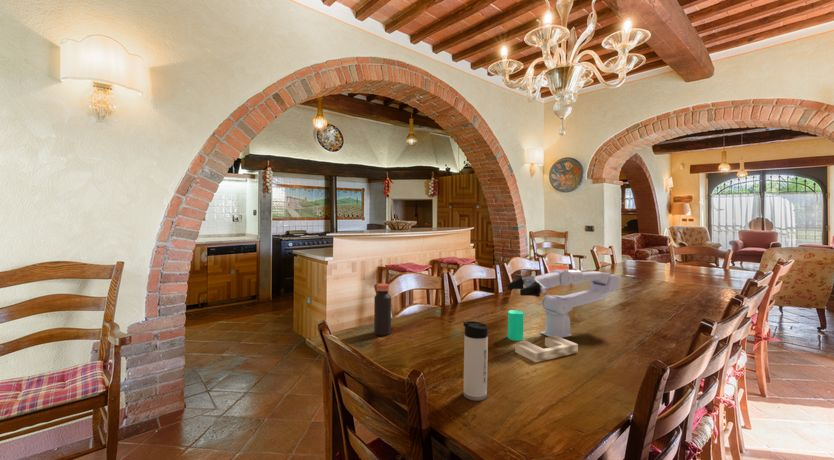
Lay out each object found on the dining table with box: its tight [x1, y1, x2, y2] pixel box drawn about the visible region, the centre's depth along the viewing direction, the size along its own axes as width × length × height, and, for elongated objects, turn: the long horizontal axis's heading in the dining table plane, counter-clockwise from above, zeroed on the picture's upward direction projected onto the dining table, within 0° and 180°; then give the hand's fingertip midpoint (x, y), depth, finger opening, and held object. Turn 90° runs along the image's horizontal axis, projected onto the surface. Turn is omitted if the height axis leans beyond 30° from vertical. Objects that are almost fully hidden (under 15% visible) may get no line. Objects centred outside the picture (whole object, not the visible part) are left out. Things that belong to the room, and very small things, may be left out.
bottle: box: [373, 283, 392, 337], centre depth 146 cm, size 7×7×20 cm
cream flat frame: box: [514, 336, 579, 363], centre depth 128 cm, size 20×10×3 cm, turn 116°
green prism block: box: [507, 309, 525, 342], centre depth 142 cm, size 6×6×12 cm
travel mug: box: [462, 320, 489, 402], centre depth 97 cm, size 6×7×20 cm
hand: (514, 289), depth 138 cm, fingers open, 7 cm apart
